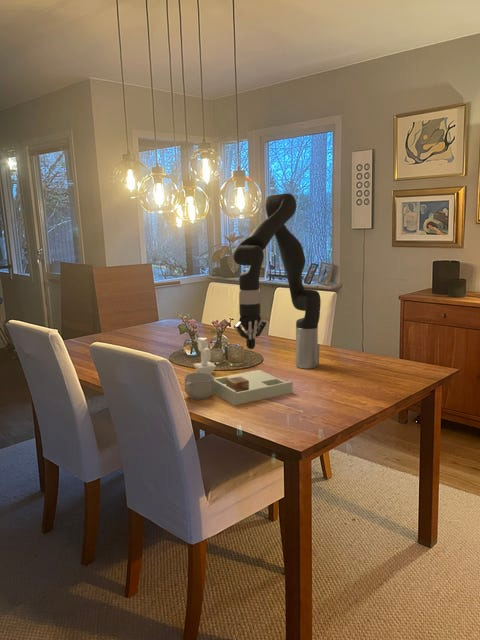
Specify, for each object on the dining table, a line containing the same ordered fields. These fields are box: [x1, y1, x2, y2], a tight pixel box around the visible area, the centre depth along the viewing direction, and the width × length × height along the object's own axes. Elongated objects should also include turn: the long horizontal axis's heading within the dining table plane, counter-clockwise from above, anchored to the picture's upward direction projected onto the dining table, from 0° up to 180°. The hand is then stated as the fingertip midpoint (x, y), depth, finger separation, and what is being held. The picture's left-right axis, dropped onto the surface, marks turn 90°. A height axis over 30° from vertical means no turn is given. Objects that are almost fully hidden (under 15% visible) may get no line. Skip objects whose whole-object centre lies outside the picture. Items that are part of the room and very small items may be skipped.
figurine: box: [193, 337, 217, 375], centre depth 221 cm, size 7×9×15 cm
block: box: [226, 376, 249, 392], centre depth 192 cm, size 6×6×4 cm
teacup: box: [184, 371, 216, 401], centre depth 192 cm, size 14×11×8 cm
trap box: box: [212, 369, 294, 406], centre depth 200 cm, size 25×24×5 cm
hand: (250, 348), depth 195 cm, fingers closed
